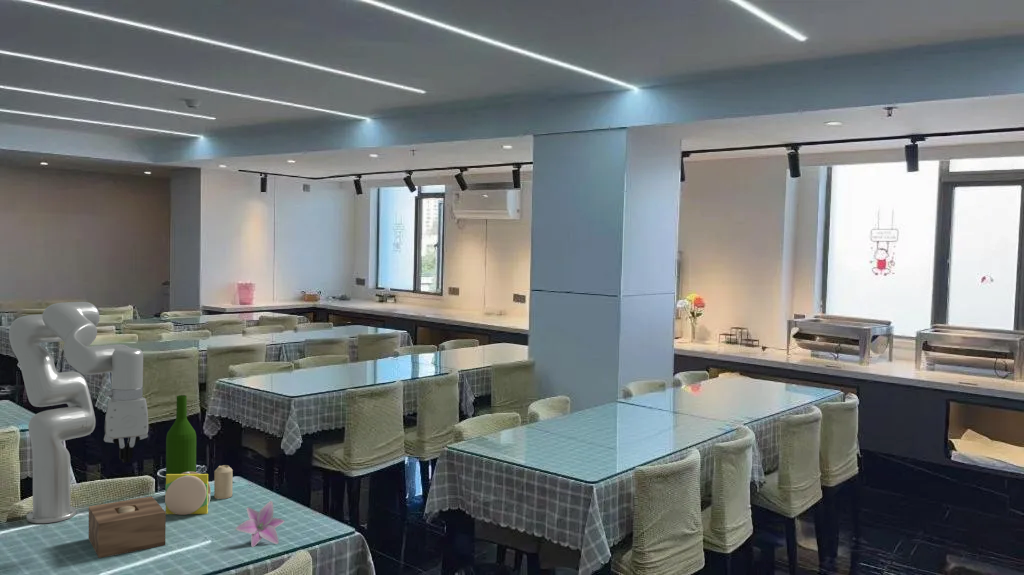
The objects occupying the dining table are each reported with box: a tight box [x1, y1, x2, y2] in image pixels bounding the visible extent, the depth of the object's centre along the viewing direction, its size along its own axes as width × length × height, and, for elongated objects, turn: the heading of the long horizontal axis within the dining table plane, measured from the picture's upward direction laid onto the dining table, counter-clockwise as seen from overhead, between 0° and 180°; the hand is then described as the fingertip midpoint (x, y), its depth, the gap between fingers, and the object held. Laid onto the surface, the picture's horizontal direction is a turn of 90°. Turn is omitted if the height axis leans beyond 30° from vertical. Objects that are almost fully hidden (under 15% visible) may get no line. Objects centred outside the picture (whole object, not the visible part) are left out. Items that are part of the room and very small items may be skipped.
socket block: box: [88, 496, 167, 559], centre depth 207 cm, size 16×16×9 cm
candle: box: [213, 464, 234, 500], centre depth 247 cm, size 6×6×10 cm
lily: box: [235, 500, 285, 548], centre depth 211 cm, size 12×12×10 cm
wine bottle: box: [165, 394, 197, 475], centre depth 246 cm, size 9×9×32 cm
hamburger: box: [164, 471, 212, 516], centre depth 232 cm, size 12×8×12 cm
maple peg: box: [118, 506, 135, 514], centre depth 207 cm, size 4×4×7 cm
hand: (125, 461), depth 207 cm, fingers closed
